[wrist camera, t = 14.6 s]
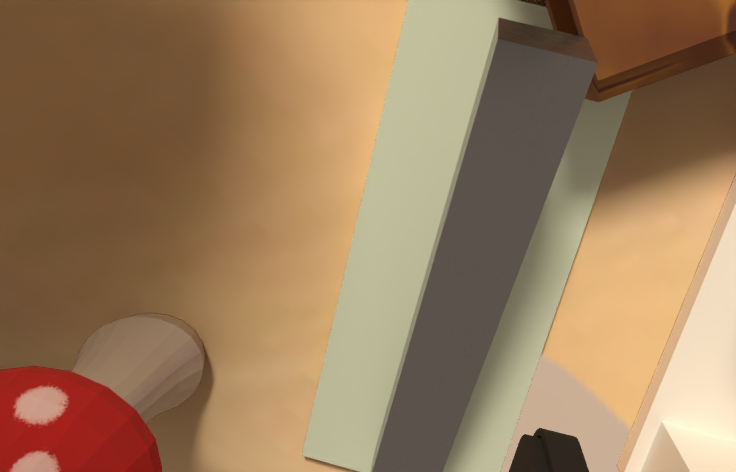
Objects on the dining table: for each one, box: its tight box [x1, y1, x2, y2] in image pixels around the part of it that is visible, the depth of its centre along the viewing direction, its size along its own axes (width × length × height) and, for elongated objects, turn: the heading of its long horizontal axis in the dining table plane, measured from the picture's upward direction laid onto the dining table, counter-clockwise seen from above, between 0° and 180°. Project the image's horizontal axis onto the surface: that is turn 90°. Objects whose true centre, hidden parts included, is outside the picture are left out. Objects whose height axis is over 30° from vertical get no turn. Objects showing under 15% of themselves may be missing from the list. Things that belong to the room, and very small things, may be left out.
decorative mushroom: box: [0, 313, 205, 472], centre depth 27 cm, size 10×9×15 cm
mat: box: [302, 0, 633, 472], centre depth 30 cm, size 24×10×1 cm, turn 166°
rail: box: [370, 18, 598, 472], centre depth 26 cm, size 22×3×3 cm, turn 166°
